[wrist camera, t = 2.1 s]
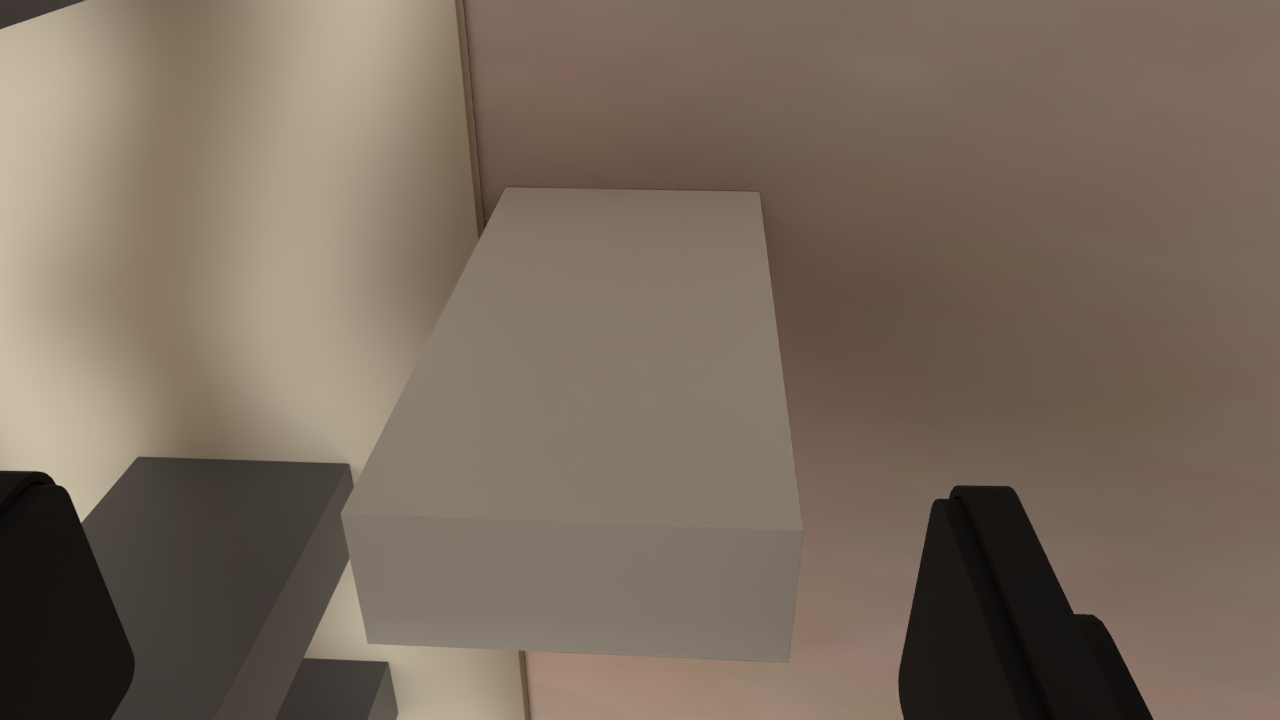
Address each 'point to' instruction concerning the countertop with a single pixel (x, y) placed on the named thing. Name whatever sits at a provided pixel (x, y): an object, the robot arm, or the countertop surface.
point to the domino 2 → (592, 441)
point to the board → (237, 254)
